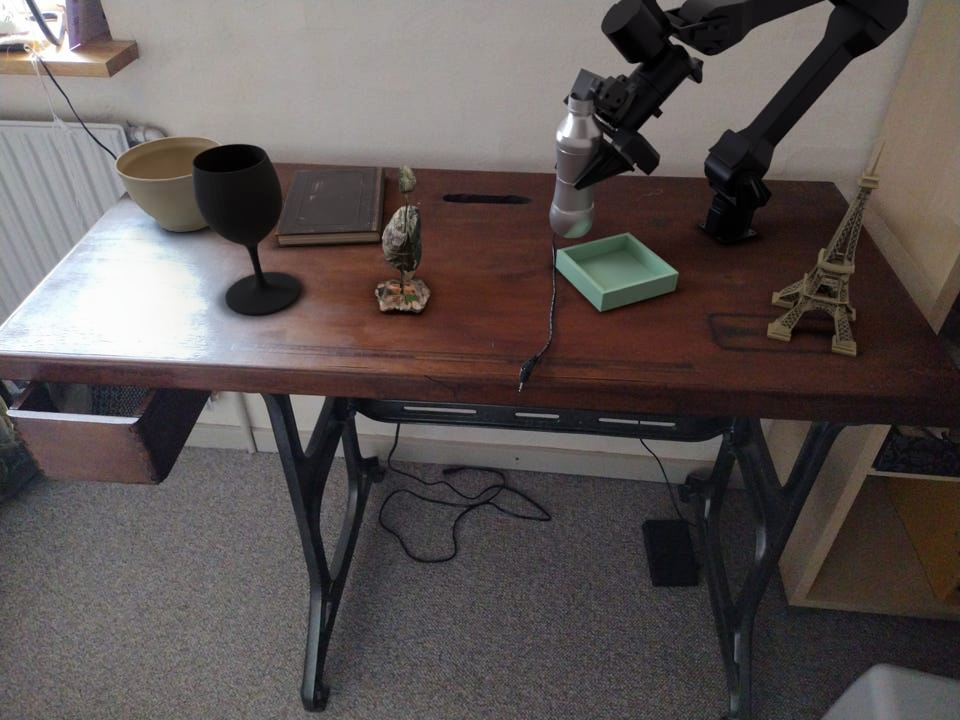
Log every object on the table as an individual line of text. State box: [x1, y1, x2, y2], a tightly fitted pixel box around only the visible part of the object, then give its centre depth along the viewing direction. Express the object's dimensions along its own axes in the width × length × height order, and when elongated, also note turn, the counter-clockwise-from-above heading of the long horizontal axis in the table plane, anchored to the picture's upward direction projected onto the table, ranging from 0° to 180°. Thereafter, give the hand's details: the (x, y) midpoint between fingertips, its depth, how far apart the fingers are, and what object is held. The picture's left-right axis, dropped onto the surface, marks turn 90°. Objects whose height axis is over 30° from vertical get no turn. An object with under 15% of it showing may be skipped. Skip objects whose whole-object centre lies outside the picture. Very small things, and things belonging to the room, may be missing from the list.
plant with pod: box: [374, 164, 431, 314], centre depth 88 cm, size 8×11×20 cm
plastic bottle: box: [548, 91, 605, 239], centre depth 92 cm, size 6×7×20 cm
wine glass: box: [192, 143, 302, 317], centre depth 88 cm, size 10×10×20 cm
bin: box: [555, 232, 680, 313], centre depth 96 cm, size 12×12×3 cm
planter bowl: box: [114, 135, 223, 233], centre depth 107 cm, size 16×16×11 cm
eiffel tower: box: [766, 139, 886, 358], centre depth 81 cm, size 11×11×25 cm
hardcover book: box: [274, 166, 386, 248], centre depth 112 cm, size 16×23×2 cm
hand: (565, 178), depth 92 cm, fingers closed on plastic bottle, 6 cm apart
